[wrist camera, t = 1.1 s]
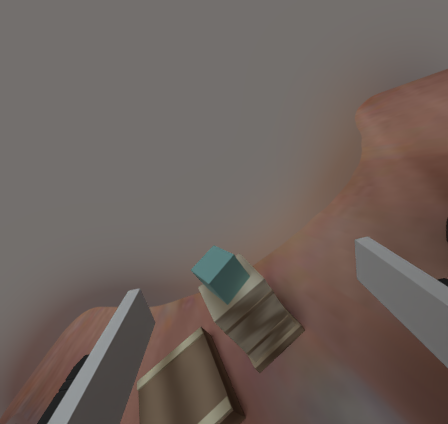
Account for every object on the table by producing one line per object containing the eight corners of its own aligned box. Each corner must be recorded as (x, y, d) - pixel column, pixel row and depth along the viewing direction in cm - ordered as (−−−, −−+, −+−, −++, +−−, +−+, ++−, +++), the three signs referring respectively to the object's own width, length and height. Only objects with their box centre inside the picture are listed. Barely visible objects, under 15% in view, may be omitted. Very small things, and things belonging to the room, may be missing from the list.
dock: (210, 335, 35) (200, 326, 34) (245, 418, 25) (232, 409, 23) (151, 388, 34) (136, 380, 32) (160, 500, 23) (140, 497, 21)
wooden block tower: (273, 297, 35) (240, 249, 29) (304, 330, 29) (270, 278, 23) (236, 330, 34) (194, 287, 28) (259, 373, 28) (212, 328, 22)
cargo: (229, 265, 28) (213, 245, 26) (250, 276, 25) (233, 254, 23) (208, 289, 26) (190, 270, 25) (227, 305, 23) (208, 283, 21)
